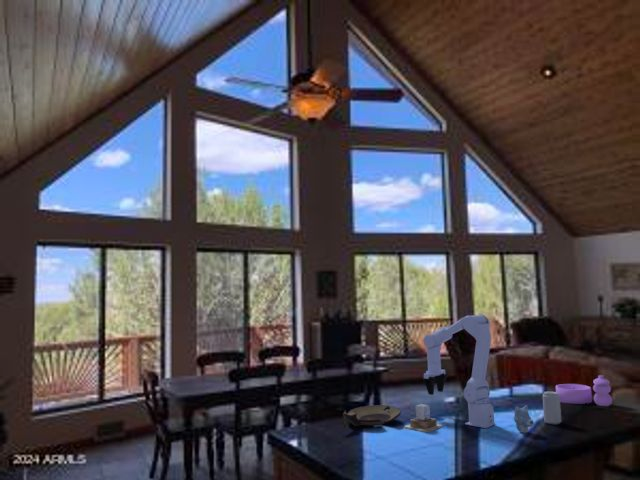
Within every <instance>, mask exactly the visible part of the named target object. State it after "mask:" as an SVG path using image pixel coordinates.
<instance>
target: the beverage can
mask: <svg viewBox="0 0 640 480" xmlns="http://www.w3.org/2000/svg"><path fill="white" fill-rule="evenodd" d="M542 405H543V406H542V409H543V421H544V422H545V423H546V424H548V425H559V424H561V423H562V410H561V402H560V396H559V395H558V393H557V392H556V391H552V390H551V391H543V394H542Z"/></svg>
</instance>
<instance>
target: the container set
mask: <svg viewBox="0 0 640 480" xmlns="http://www.w3.org/2000/svg"><path fill="white" fill-rule="evenodd" d="M592 381H593V384H594V385H593V386H592V387H591V386H588V385H585V384H579V383H563V384H556V385H555V392H557V393H558V395H559V396H560V403H563V404H570V405H571V404H572V405H573V404H574V405H585V403H587V404H591V403H593V402H594V403H595V404H596V405H597V406H600V407H609V406H611V404H612V403H613V399H612V396H611V395H610V392H611V390H612V388H611V384H610V380H608V379H607V378H604V375H602V374H600V375H599V374H598V376H597V378H595V379H593V380H592ZM592 390H593V391H594V392H595V394H594V395H593V397H592ZM592 398H593V399H592Z"/></svg>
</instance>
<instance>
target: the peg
mask: <svg viewBox="0 0 640 480" xmlns="http://www.w3.org/2000/svg"><path fill="white" fill-rule="evenodd" d="M430 410H431V409H430V404H423V403H420V404H416V405H415V418H416V420H417V421H423V422H426V421H429V420H430V418H431V416H430V415H431V413H430V412H431V411H430Z"/></svg>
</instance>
